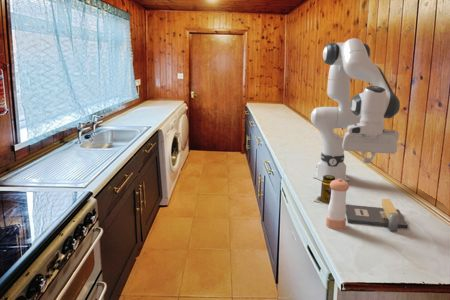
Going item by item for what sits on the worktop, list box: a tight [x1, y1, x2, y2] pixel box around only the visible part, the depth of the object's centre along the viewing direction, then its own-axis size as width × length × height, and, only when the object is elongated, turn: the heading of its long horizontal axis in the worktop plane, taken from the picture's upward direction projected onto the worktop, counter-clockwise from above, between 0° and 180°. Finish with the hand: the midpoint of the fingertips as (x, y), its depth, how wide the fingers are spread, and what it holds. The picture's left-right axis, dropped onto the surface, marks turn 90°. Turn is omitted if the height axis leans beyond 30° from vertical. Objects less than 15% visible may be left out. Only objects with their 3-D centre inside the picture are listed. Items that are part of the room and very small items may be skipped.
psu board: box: [345, 204, 409, 230], centre depth 154 cm, size 16×22×2 cm
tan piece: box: [381, 198, 399, 232], centre depth 149 cm, size 18×3×6 cm, turn 167°
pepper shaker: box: [325, 179, 350, 231], centre depth 144 cm, size 7×7×19 cm
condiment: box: [314, 175, 335, 206], centre depth 170 cm, size 7×8×12 cm
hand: (367, 162), depth 149 cm, fingers closed
